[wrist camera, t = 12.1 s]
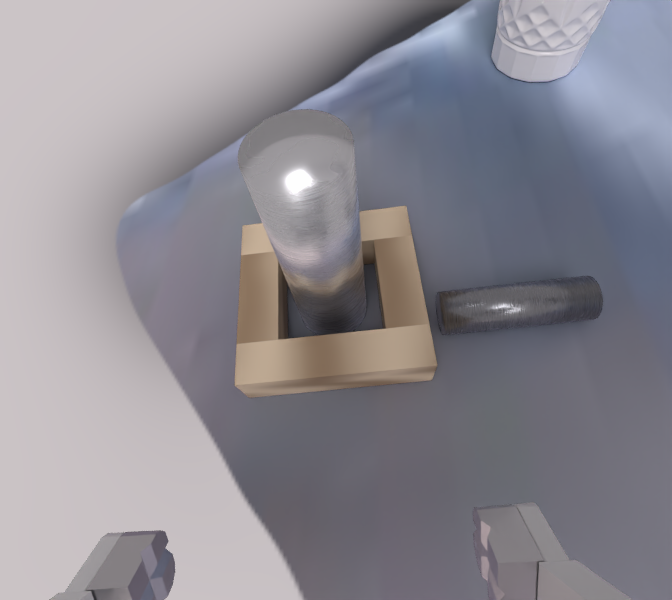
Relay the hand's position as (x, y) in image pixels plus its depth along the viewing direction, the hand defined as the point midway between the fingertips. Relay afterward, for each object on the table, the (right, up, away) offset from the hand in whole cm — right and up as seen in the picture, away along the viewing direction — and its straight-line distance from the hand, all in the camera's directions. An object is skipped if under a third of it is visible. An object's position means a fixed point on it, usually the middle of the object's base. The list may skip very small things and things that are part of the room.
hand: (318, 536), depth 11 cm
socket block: (0, +6, +14) cm, 15 cm away
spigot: (0, +6, +14) cm, 15 cm away
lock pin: (+10, +5, +11) cm, 16 cm away
